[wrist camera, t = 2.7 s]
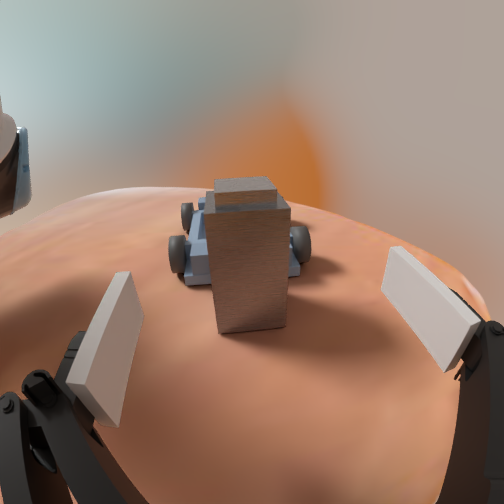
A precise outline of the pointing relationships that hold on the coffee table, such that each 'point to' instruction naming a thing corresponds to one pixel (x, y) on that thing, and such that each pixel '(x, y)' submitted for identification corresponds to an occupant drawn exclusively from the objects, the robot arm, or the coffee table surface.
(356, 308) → the coffee table surface
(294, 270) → the chassis
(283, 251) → the block
